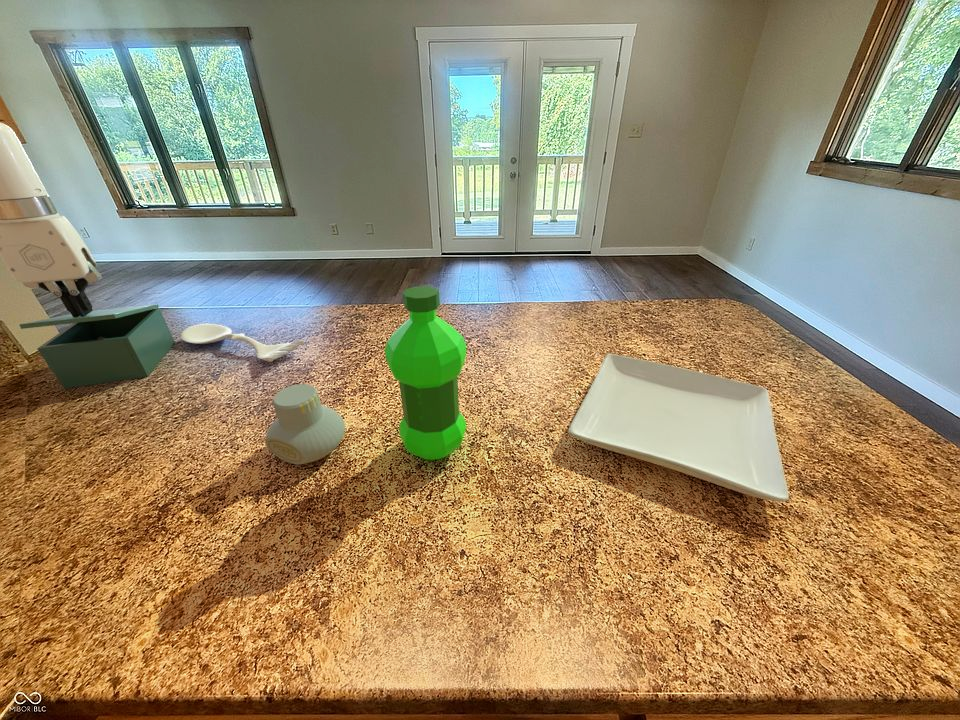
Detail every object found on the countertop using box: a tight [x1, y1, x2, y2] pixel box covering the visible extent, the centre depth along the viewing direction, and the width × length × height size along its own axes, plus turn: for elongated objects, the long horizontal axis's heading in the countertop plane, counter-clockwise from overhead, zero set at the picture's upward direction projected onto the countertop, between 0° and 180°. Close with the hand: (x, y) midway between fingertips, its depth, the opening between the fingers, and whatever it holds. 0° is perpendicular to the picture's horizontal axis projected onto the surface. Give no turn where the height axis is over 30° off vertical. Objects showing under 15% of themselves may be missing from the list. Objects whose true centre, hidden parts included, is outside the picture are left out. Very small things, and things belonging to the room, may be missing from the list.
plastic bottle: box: [384, 285, 467, 461], centre depth 52 cm, size 10×10×25 cm
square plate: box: [568, 353, 790, 503], centre depth 61 cm, size 27×27×4 cm
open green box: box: [36, 307, 176, 390], centre depth 78 cm, size 16×14×9 cm
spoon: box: [180, 323, 305, 363], centre depth 85 cm, size 9×32×4 cm, turn 66°
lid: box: [18, 303, 160, 330], centre depth 75 cm, size 16×14×1 cm
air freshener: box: [264, 383, 346, 465], centre depth 56 cm, size 11×8×10 cm
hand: (83, 313), depth 71 cm, fingers closed
